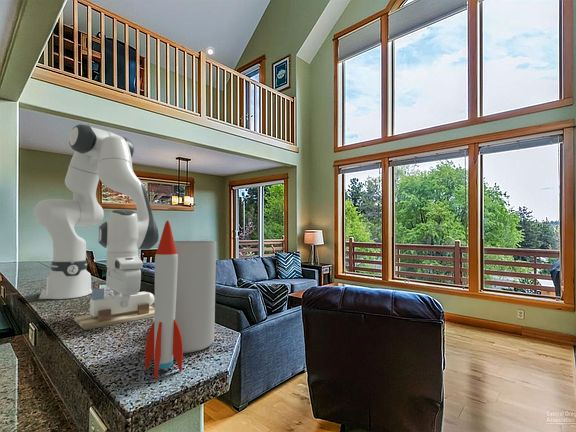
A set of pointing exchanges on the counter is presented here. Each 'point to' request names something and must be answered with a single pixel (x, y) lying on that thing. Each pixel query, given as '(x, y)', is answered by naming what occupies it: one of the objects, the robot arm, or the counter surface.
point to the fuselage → (117, 302)
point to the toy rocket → (165, 308)
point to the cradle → (115, 317)
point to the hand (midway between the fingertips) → (121, 305)
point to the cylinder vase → (196, 293)
